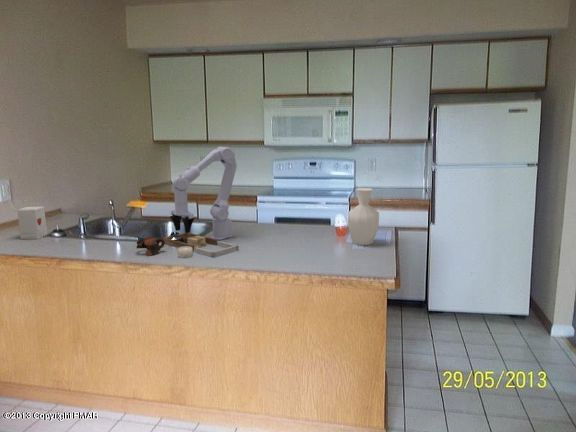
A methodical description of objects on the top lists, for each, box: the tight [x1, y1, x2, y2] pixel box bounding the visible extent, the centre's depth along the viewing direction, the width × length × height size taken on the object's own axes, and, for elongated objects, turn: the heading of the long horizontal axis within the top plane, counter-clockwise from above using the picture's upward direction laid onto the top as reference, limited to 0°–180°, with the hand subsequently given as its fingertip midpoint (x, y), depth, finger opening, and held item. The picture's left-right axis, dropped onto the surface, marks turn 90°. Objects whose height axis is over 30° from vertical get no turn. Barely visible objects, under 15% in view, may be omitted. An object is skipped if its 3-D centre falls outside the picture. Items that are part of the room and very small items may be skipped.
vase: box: [347, 187, 380, 246], centre depth 207 cm, size 14×14×25 cm
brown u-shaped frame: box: [161, 232, 218, 252], centre depth 212 cm, size 14×23×2 cm, turn 49°
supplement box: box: [16, 205, 48, 240], centre depth 227 cm, size 9×9×15 cm
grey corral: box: [194, 240, 239, 258], centre depth 199 cm, size 14×12×2 cm
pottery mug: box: [136, 236, 166, 257], centre depth 198 cm, size 12×10×8 cm
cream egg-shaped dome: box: [177, 246, 194, 259], centre depth 193 cm, size 6×6×4 cm
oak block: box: [186, 235, 207, 249], centre depth 208 cm, size 6×6×4 cm
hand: (182, 231), depth 214 cm, fingers open, 7 cm apart
